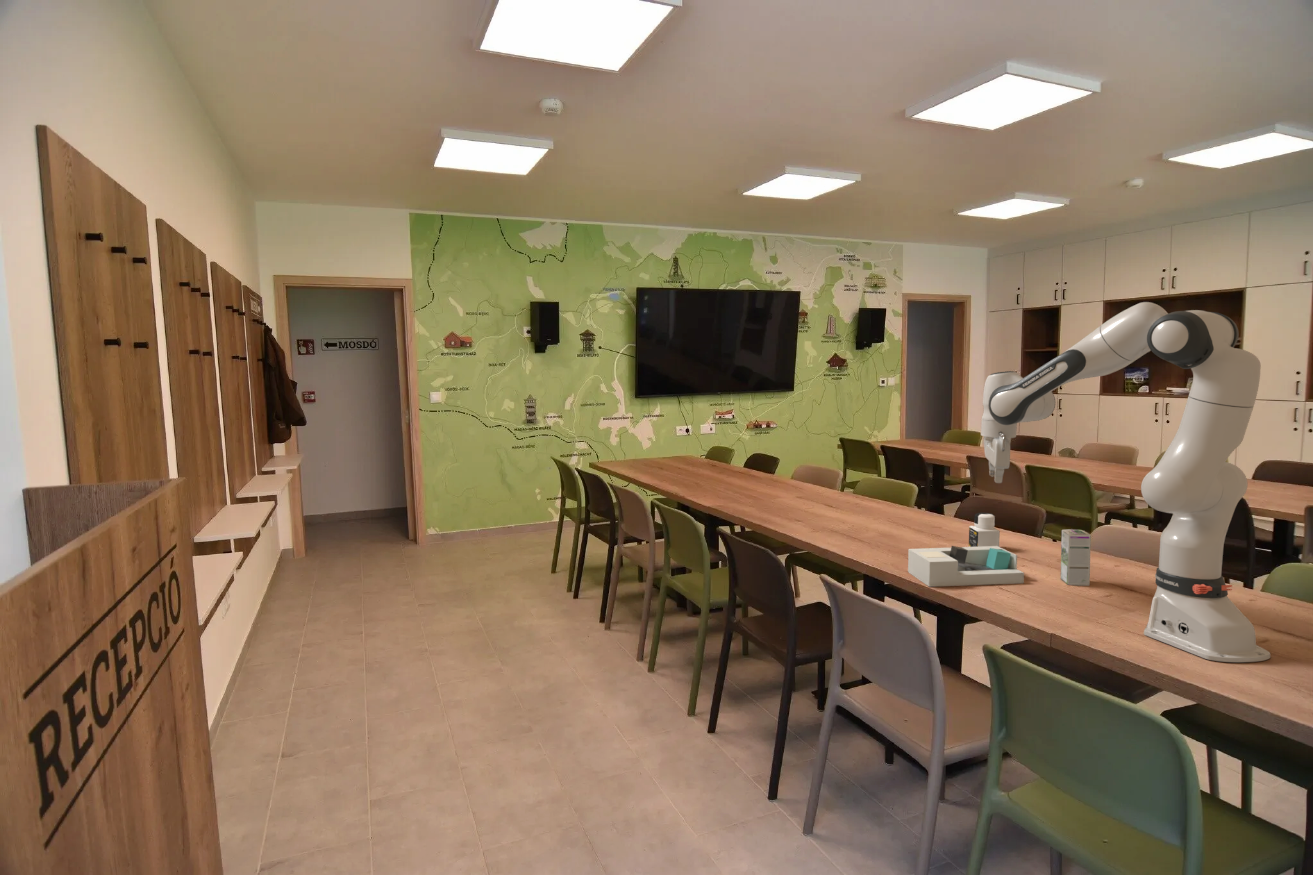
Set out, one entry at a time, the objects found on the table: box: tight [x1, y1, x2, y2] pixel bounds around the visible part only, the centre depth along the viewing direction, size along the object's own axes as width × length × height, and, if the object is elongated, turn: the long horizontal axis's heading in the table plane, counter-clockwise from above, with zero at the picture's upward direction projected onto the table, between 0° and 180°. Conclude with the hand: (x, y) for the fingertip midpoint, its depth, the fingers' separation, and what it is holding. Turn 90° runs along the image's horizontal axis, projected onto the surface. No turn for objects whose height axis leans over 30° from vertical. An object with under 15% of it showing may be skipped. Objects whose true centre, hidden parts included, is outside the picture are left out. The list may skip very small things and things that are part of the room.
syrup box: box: [1060, 528, 1092, 587], centre depth 193 cm, size 6×6×14 cm
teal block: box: [986, 548, 1011, 570], centre depth 200 cm, size 4×4×5 cm
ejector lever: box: [950, 545, 996, 570], centre depth 200 cm, size 3×16×5 cm, turn 93°
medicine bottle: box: [968, 512, 1001, 547], centre depth 229 cm, size 7×7×12 cm
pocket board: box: [907, 546, 1025, 587], centre depth 200 cm, size 14×27×7 cm, turn 93°
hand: (995, 479), depth 194 cm, fingers open, 8 cm apart
